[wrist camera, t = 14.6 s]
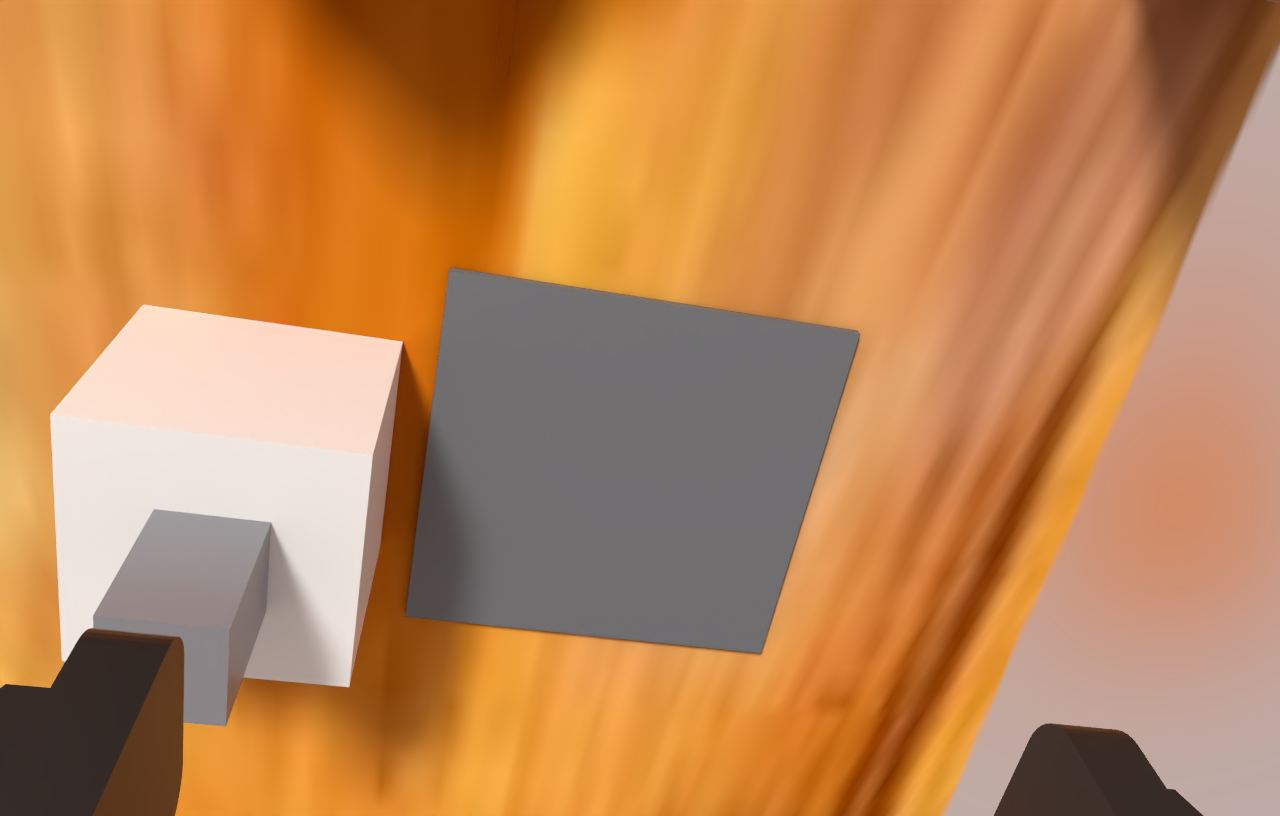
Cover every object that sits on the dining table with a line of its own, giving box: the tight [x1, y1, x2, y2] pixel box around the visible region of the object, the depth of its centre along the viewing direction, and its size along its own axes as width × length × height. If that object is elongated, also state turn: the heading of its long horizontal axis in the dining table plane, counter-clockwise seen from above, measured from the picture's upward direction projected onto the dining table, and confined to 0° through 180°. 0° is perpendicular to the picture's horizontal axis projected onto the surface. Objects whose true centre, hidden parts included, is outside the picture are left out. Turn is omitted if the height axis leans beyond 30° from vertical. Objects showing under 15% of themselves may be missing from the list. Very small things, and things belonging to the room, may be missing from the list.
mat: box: [405, 268, 860, 653], centre depth 51 cm, size 18×18×1 cm
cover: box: [50, 305, 403, 726], centre depth 41 cm, size 11×11×16 cm
